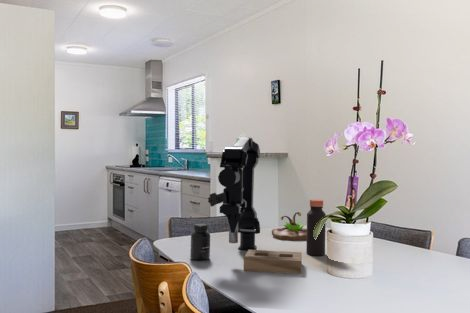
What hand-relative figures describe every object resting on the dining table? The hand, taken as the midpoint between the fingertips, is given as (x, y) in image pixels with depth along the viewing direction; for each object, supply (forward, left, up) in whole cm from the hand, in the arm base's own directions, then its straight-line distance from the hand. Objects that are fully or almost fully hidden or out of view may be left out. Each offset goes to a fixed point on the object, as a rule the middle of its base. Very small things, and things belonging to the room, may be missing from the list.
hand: (233, 231), depth 148 cm
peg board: (+1, +14, -11) cm, 17 cm away
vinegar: (-21, +28, -11) cm, 36 cm away
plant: (-54, +19, -12) cm, 59 cm away
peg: (0, 0, -4) cm, 4 cm away
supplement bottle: (-5, -12, -11) cm, 18 cm away
